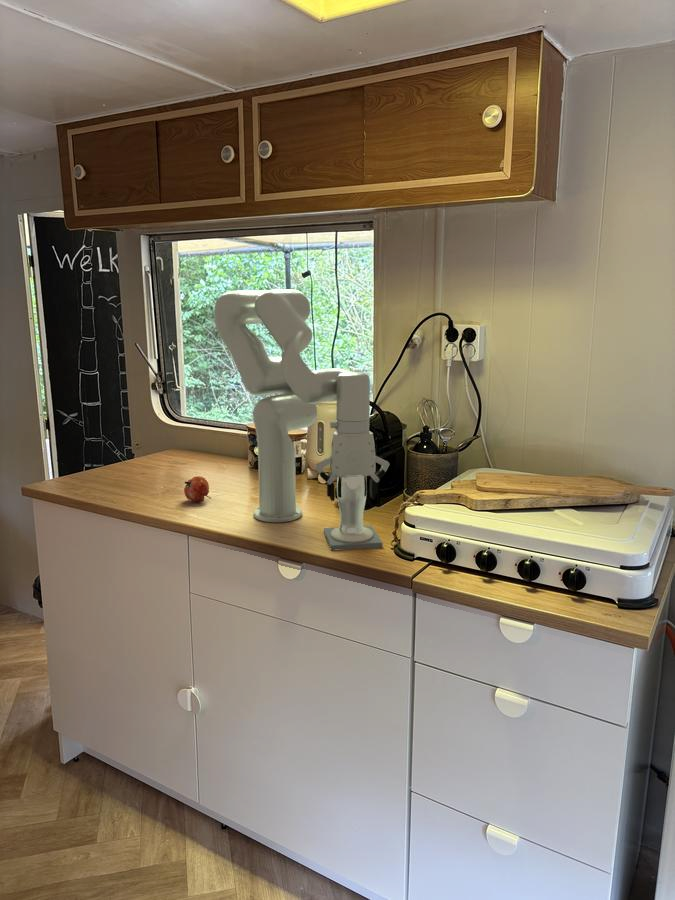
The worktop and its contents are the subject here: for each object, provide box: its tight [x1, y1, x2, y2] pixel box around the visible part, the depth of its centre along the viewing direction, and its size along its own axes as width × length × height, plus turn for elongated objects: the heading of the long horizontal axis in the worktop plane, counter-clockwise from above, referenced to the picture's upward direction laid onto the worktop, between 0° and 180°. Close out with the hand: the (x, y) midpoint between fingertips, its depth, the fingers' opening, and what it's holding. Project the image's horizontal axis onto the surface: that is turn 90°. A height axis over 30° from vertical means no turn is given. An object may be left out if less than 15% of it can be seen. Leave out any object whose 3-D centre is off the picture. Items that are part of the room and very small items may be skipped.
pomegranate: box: [183, 476, 212, 504], centre depth 196 cm, size 7×7×10 cm
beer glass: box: [336, 474, 368, 537], centre depth 164 cm, size 7×7×15 cm
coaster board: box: [323, 525, 383, 551], centre depth 166 cm, size 12×12×2 cm
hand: (352, 498), depth 164 cm, fingers open, 9 cm apart
